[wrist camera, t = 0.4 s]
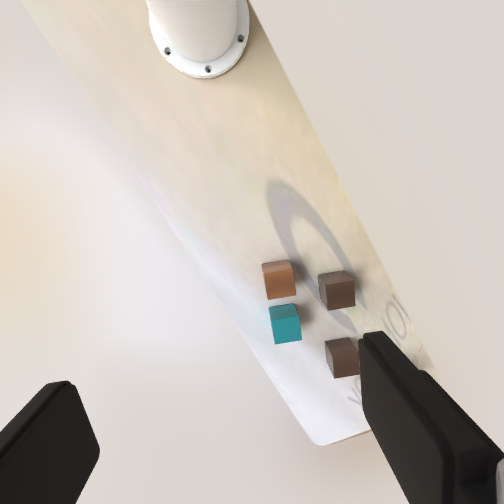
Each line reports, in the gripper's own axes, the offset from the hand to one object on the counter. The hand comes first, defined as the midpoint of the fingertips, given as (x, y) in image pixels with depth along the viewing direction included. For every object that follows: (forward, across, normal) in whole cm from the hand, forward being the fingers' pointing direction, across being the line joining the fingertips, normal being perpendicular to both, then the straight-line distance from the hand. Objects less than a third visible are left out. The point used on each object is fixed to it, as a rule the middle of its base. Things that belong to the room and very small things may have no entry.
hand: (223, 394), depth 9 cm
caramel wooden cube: (+36, -5, +10) cm, 37 cm away
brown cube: (+36, -14, +26) cm, 47 cm away
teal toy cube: (+36, -5, +18) cm, 40 cm away
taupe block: (+36, -14, +13) cm, 40 cm away
